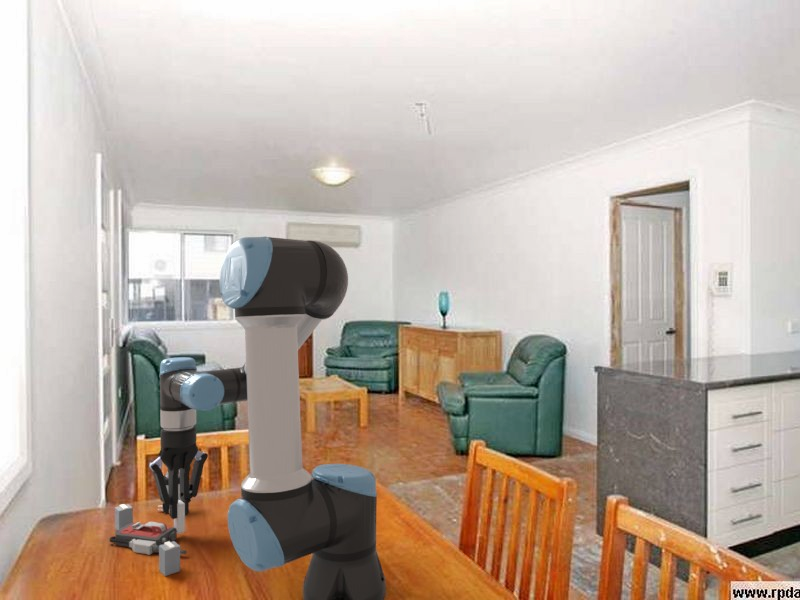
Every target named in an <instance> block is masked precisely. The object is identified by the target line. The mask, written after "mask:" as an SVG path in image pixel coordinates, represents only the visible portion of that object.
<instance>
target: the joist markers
mask: <svg viewBox="0 0 800 600" xmlns="http://www.w3.org/2000/svg"><path fill="white" fill-rule="evenodd" d="M133 511H134V510H133V506H132V505H130V504H129V503H127V504H125V503H122V504H119V506H115V507H114V530H116V531H117V530H119V529H120V528H122V527H124V526H126V525H127V524H129V523H134V512H133ZM180 549H181V546H180V544H178V543H177V542H176V540H175V541H173V542H170V541H168V542H165V543H164V544H163V545H160V546H159V552H158V564H159V565H158V571H159V572H160V573H161V574H162V575H163V576H164V577H167V576H170V575H172V574H175V573H178V572H181V553H180Z"/></svg>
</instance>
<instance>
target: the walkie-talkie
mask: <svg viewBox="0 0 800 600" xmlns="http://www.w3.org/2000/svg"><path fill="white" fill-rule="evenodd" d="M177 538H178V533H177V532H176V528H174V526H167V524H166V523H164V522H157V521H148V522H146V523H141V521H138V522H133V523H129V524H127V525H126V526H124V527H122V528H120V529H119V530H116V531H115V534H114V536H110V538H109V542H110V543H114V544H115V546H119V547H127V548H131V550H132V551H133V553H136V554H145V555H147V556H151V555H152V554H153V553H159V546H160V545H163V544H164V543H165V542H168V541H170V542H173V541H175V542H176V540H177ZM181 554H183V555H186V554H187V550H186V549H181V548H180V555H181Z"/></svg>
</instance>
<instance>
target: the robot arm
mask: <svg viewBox="0 0 800 600" xmlns="http://www.w3.org/2000/svg"><path fill="white" fill-rule="evenodd" d="M219 273H220V274H219V293H220V295H221V296H222V297H221V299H222V301H223V304H225V306H227V307H228V308H231V309H234V319H235V321H236V322H238V323H239V324H240V325H241V326H242V327H243V328H244V341H245V342H244V343H245V344H244V345H245V362H244V364H243V365H242V366H241V367H233V368H232V367H230V368H224V369H223V368H222V369H212V370H202V371H199V370H198V369H197V363H196V359H194V358H193V357H184V356H183V357H181V356H180V357H169V358H164V359H163V360H161V362H160V366H159V367H160V368H159V376H158V378H159V396H160V397H159V403H160V408H159V409H160V410H159V412H160V416H159V417H160V419H159V420H160V421H159V422H160V427H161V429H160V437H159V439H160V450H159V453H158V457H157V458H155V460H153V461H149V462H148V463H147V466H148V468H149V469H150V471H151V472H152V474H153V477H154V481H155V485H156V488H157V493H158V496H159V500H160V502H162V504H163V503H165V504H169V505H170V513H169V517H170V518H171V519H172V520H173V527H174V528H176V533H177V535H178V534H183V533H185V532H186V516H189V513H190V510H189V506H190V503H191V501H192V499H193V498H196V497H197V496H198V493H199V488H200V484H201V480H202V479H201V478H202V473H203V469H204V464H205V462H206V461H207V459H208V457H209V454H208V453H207V452H205V451H203V450H202V451H200V450H199V447H198V446H197V427H196V426H195V425H196V424H197V411H201V412H202V411H204V412H206V411H211V410H213V409H215V408H216V407H217V406H219V405H225V404H227V405H228V404H234V403H239V402H247V420H248V422H247V425H248V426H247V427H248V451H249V453H248V455H249V456H248V457H249V474H248V475H247V476H246V477H245V478H244V479H243V480H242V482H241V483H240V493H241V495H240V497H241V498H237V499H236V500H235V501H233V502H232V503H230V505H229V509H228V510H227V526H228V532H229V537H230V540H231V542H232V545H233V548H234V550H235V553H237V555H238V557H239V558H240V560H241V562H242V563H243V564H244V565H245V566H246V567H247V568H249V569H250V570H252V571H255V572H264V571H267V570H271V569H273V568H281V567H283V566H284V565H286V564H288V563H291V562H293V561H296V560H298V559H299V560H300V559H301V558H303V557H307V556H309V555H311V558H310V561H309V563H308V564H309V565H308V568H307V572H306V575H305V578H304V580H303V584H302V597H303V598H302V600H384V599H385V597H386V593H387V592H386V589H387V588H386V586H387V581H386V577H385V573H384V572H383V571H384V570H383V567H382V564H381V561H380V557H379V555H378V551H377V501H378V500H377V497H378V493H377V483H376V482H377V480H376V476H375V475H374V473H373V472H372V471H370V470H368V469H367V468H365V467H362V466H357V465H353V464H346V463H326V464H325V463H323V464H320V465H317V466H315V467H314V468H313V470H312V473H311V474H310V473H309V472H308V471H307V470H306V469H304V467H303V451H302V450H303V449H302V448H303V447H302V424H301V420H302V419H301V398H300V397H301V396H300V372H299V350H300V349H301V347H302V346H303V345H304V344H305V342H306V341H307V340H308V339H309V337H310V336H311V334H313V332H314V331H315V329H316V328H317V327H318V326H319V324H320V323H321V322H322V321H323V320H327V319H330V318H331V317H332V316H334V314H335V313H336V312H337V310H338V309H339V307H340V306H341V305H342V303H343V300H344V298H345V297H346V294H347V291H348V286H349V274H348V269H347V266H346V264H345V261H344V260H343V258H342V256H341V255H340V253H338V252H337V251H336V250H335V249H334V248H333V247H332V246H330V245H328V244H326V243H324V242H321V241H317V240H302V239H292V238H281V237H271V236H245V237H242V238H239V239H237V240H236V241H234V242H233V243H232V244H231V245H230V247H229V248H228V250H227V252H226V253H225V255H224V258H223V261H222V263H221V267H220V271H219ZM194 459H195V460H194ZM193 461H194V462H193ZM192 462H193V466H192V469H191V464H192ZM162 463H163V464H164V465H165V467H166V468H167V472H168V488H169V495H168V491H167V487H166V484H165V480H164V474H163V471H162V468H163V465H162ZM179 470H180V499H181V500H178V474H179ZM191 470H192V471H191ZM190 472H191V476H190Z"/></svg>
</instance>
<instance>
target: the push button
mask: <svg viewBox="0 0 800 600" xmlns="http://www.w3.org/2000/svg"><path fill="white" fill-rule="evenodd" d="M163 476H164V480H165V484H166V487H167V491H168V495H169V488H168V471H167V472H165V474H163ZM178 500H181V499H180V470H179V474H178ZM157 507H158V508H157V511H162V513H163V514H170V505H169V504H165V503H163V502H162V504H161V505H160V504H159V505H157ZM160 507H161V508H160Z"/></svg>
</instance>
